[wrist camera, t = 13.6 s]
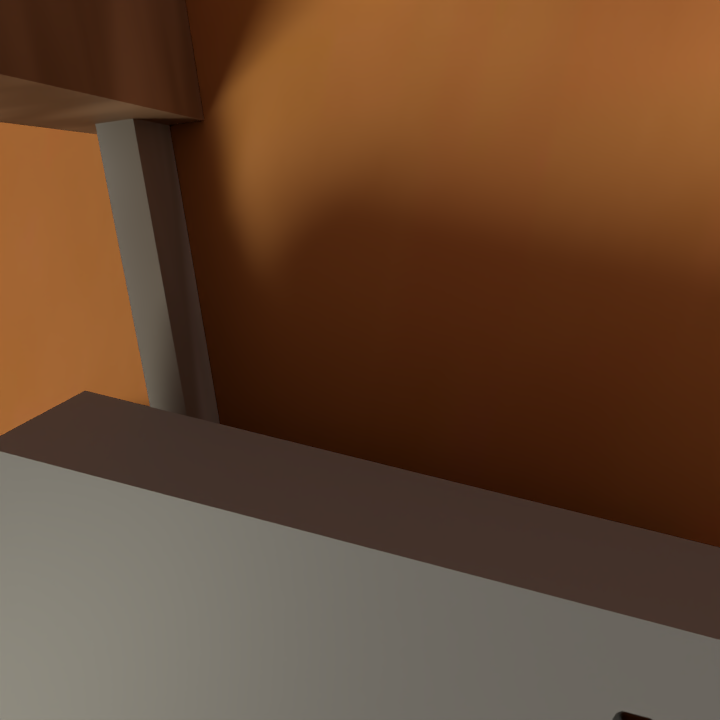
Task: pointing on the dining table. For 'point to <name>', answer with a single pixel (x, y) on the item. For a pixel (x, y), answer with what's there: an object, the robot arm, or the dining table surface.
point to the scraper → (125, 156)
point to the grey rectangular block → (323, 586)
